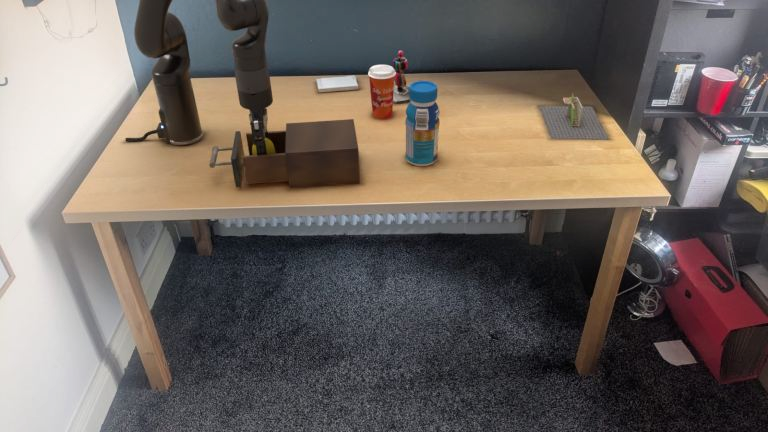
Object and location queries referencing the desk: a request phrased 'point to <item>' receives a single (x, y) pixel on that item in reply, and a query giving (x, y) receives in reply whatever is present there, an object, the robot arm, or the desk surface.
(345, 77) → the hard drive
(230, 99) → the desk surface
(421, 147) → the beverage bottle
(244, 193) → the desk surface
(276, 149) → the drawer
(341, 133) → the cabinet
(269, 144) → the lemon
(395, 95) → the statue
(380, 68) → the paper cup
